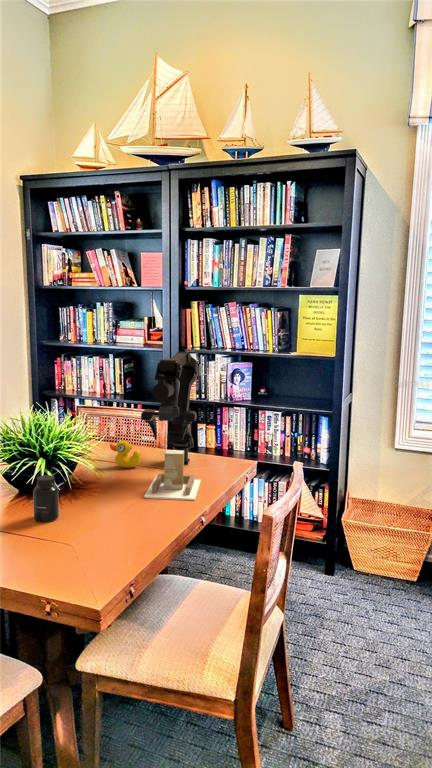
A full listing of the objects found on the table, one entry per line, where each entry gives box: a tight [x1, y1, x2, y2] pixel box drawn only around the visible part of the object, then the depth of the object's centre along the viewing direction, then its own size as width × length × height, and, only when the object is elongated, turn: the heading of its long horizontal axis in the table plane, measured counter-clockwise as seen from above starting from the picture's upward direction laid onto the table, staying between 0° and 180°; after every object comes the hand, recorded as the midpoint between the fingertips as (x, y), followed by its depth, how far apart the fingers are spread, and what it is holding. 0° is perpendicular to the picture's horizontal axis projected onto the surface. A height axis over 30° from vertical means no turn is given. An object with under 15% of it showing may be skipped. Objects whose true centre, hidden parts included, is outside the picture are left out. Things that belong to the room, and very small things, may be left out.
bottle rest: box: [143, 473, 202, 501], centre depth 182 cm, size 18×16×3 cm
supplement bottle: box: [32, 474, 60, 524], centre depth 156 cm, size 7×7×12 cm
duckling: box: [109, 440, 142, 469], centre depth 203 cm, size 11×5×10 cm, turn 86°
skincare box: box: [163, 449, 185, 490], centre depth 181 cm, size 6×4×12 cm
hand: (168, 439), depth 194 cm, fingers open, 9 cm apart
